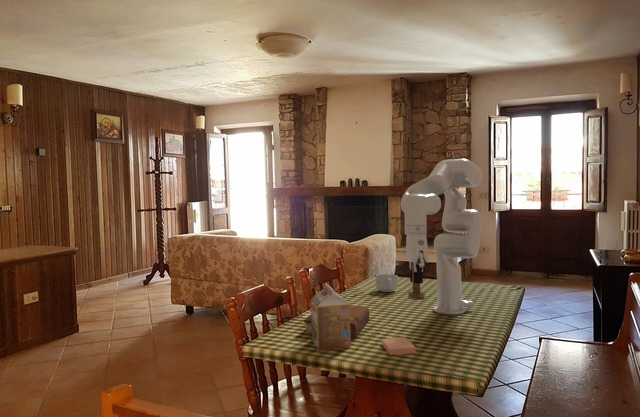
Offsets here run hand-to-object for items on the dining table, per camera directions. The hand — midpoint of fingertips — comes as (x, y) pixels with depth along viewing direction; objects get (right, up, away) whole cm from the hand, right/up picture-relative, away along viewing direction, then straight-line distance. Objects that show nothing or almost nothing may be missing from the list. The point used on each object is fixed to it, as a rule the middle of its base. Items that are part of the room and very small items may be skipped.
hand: (416, 282), depth 163 cm
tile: (-10, -18, -11) cm, 23 cm away
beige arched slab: (-27, -19, +9) cm, 34 cm away
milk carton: (-30, -19, -10) cm, 37 cm away
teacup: (-1, -15, +65) cm, 67 cm away
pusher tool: (0, -6, 0) cm, 6 cm away
